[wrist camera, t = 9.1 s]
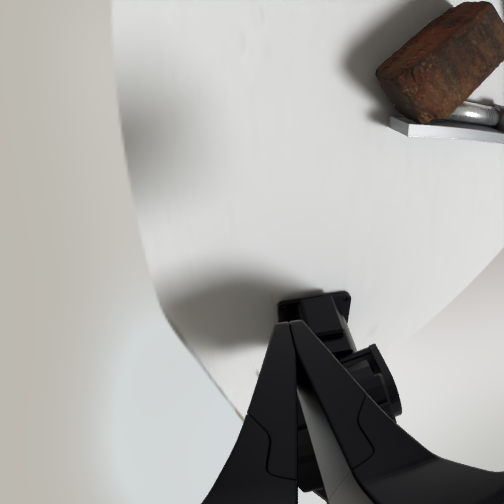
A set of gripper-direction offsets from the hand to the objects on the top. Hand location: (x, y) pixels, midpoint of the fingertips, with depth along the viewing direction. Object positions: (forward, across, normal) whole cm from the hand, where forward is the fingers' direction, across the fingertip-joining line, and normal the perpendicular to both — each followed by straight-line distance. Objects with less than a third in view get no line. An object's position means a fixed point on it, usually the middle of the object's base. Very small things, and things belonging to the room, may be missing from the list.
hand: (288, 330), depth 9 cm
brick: (+13, -13, -9) cm, 21 cm away
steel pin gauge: (+13, -16, -5) cm, 22 cm away
